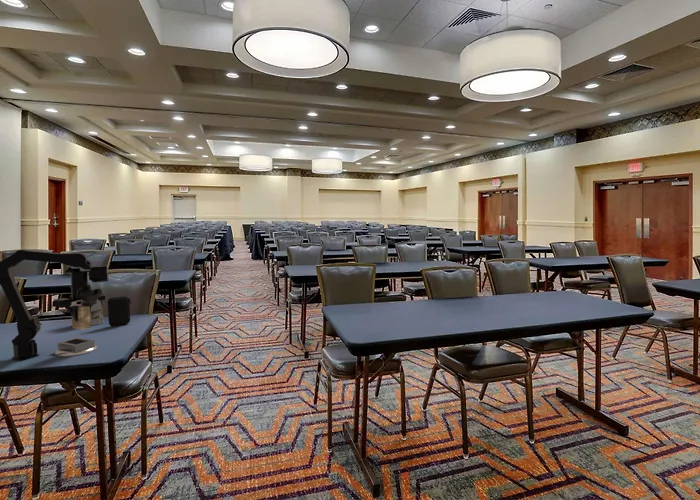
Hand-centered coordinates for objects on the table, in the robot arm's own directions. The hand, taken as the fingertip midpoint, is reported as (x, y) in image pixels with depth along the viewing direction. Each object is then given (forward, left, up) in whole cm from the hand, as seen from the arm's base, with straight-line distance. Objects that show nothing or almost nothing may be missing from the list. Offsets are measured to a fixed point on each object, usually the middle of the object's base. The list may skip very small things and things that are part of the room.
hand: (81, 320), depth 169 cm
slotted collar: (-2, +2, -13) cm, 13 cm away
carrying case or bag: (+33, +21, -13) cm, 41 cm away
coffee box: (+30, +38, -13) cm, 50 cm away
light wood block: (0, 0, -3) cm, 3 cm away
